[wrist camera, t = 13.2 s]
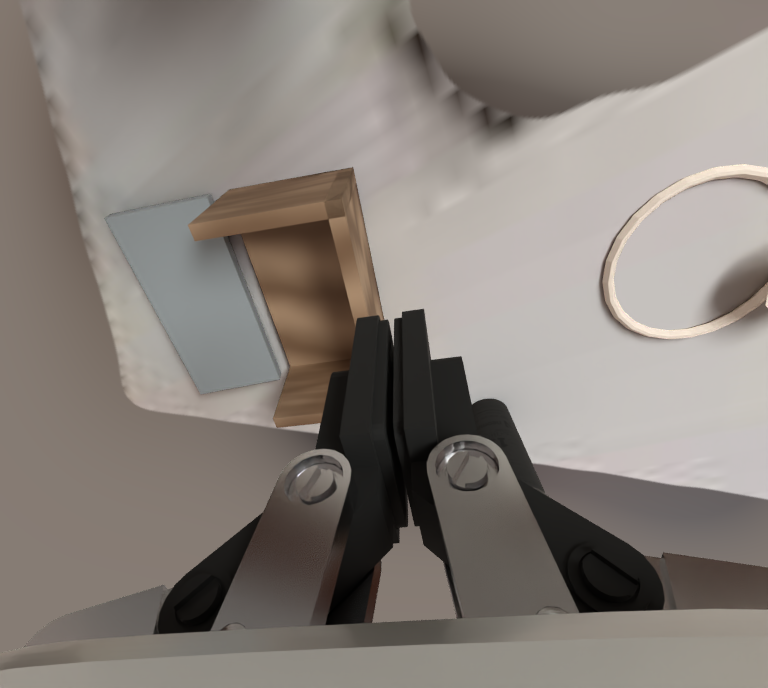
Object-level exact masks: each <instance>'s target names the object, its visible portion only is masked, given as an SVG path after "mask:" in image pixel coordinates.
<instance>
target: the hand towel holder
mask: <svg viewBox="0 0 768 688" xmlns="http://www.w3.org/2000/svg"><path fill="white" fill-rule="evenodd" d="M734 177H740V178H746V179H752V180H759V181H761V182H763V183H765V184H767V185H768V168H765V167H759V166H752V165H746V164H739V165H731V166H722V167H714V168H711V169H708V170H705V171H703V172H700V173H697V174H694V175H691V176H688V177H686V178H683V179H682V180H680V181H678V182H677V183H675V184H673V185H672V186H670V187H668V188H667V189H665V190H663V191H662V192H660V193H658V194H657V195H655V196H654V197H653V198H652V199H651V200H650V201H649V202H647V203H646V204H645V205H644V206H643V207H642V208H641V209H640V210H638V211H637V212H636V213H635V214H634V215H633V216H632V218H631V219H630V220H629V221H628V223H627V224H626V225H625V227H624V228H623V229H622V231H621V232H620V233H619V235H618V236H617V238H616V240H615V242H614V244H613V246H612V249H611V251H610V253H609V255H608V257H607V259H606V264H605V270H604V276H603V281H602V283H603V290H604V297H605V302H606V304H607V305H608V307H609V309H610V311H611V313H612V315H613V317H614V318H616V319H617V320H618V321H619V322H620V323H621V324H622V325H624V326H625V327H626V328H627V329H629V330H632V331H634V332H636V333H639V334H641V335H643V336H649V337H656V338H663V339H677V338H689V337H694V336H698V335H702V334H705V333H709V332H713V331H716V330H718V329H720V328H722V327H724V326H726V325H729V324H731V323H733V322H735V321H737V320H739V319H740V318H742V317H743V316H745V315H746V314H748V313H749V312H751V311H752V310H754V309H755V308H757V307H758V306H760V305H761V304H762V303H763V302H764V301H765V300H766V299H767V300H766V305H765V306H766V307H767V308H768V282H767V283H766V284H765V285H764V286H763V287H762V288H761V289H760V290H759V291H758V292H757V293H756V294H755V295H754V296H753V297H752V298H750V299H749V300H748V301H746V302H745V303H743V304H742V305H740V306H739V307H737V308H736V309H734V310H733V311H732V312H730V313H728V314H726V315H724V316H722V317H720V318H717V319H715V320H713V321H711V322H709V323H706V324H702V325H699V326H695V327H692V328H688V329H680V330H662V329H655V328H650V327H647V326H645V325H643V324H640V323H638V322H636V321H634V320H633V319H632V318H631V317H630V316H629V315H627V314H626V313H625V312H624V311H623V310H622V308H621V306H620V304H619V302H618V300H617V298H616V294H615V286H614V275H615V270H616V265H617V260H618V258H619V256H620V254H621V252H622V249H623V247H624V245H625V243H626V241H627V239H628V238H629V237H630V236H631V234H632V233H633V232H634V230H635V229H636V228H637V227H638V225H639V224H640V223H641V221H642V220H643V219H645V218H646V217H647V216H648V215H649V214H650V213H651V212H653V211H654V210H655V209H656V208H657V207H658V206H660V205H661V204H662V203H663V202H665V201H667V200H668V199H670V198H672V197H674V196H675V195H677V194H679V193H680V192H682V191H684V190H685V189H688V188H691V187H694V186H696V185H699V184H702V183H705V182H708V181H711V180H717V179H725V178H734Z"/></svg>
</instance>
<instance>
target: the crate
mask: <svg viewBox="0 0 768 688" xmlns="http://www.w3.org/2000/svg"><path fill="white" fill-rule="evenodd" d="M188 227H189V229H190V232H191V234H192V236H193V238H194V241H200V240H206V239H212V238H218V237H224V236H230V235H236V234H241V236H242V238H243V241H244V244H245V246H246V249H247V252H248V254H249V257H250V260H251V262H252V265H253V268H254V270H255V273H256V276H257V278H258V281H259V284H260V287H261V289H262V292H263V295H264V297H265V300H266V303H267V305H268V308H269V311H270V313H271V316H272V319H273V321H274V324H275V327H276V329H277V332H278V335H279V337H280V340H281V343H282V345H283V348H284V351H285V353H286V356H287V359H288V361H289V364H290V369H289V372H288V375H287V378H286V381H285V384H284V387H283V390H282V393H281V396H280V399H279V402H278V405H277V408H276V411H275V414H274V417H273V420H274V422H275V424H276V427H277V428H278V427H288V426H297V425H306V424H315V423H321V420H322V415H323V410H324V405H325V400H326V395H327V391H328V386H329V381H330V377H331V374H332V373H333V372H338V371H346V370H349V368H350V361H351V355H352V348H353V341H354V335H355V328H356V321H357V318H361V317H369V316H376V315H379V316H380V319H381V320H384V317H383V312H382V307H381V302H380V297H379V292H378V287H377V282H376V277H375V273H374V268H373V263H372V258H371V253H370V248H369V243H368V238H367V233H366V228H365V223H364V218H363V214H362V209H361V204H360V199H359V194H358V189H357V184H356V179H355V174H354V169H353V167H352V168H347V169H341V170H336V171H330V172H324V173H319V174H313V175H308V176H302V177H297V178H291V179H285V180H280V181H274V182H269V183H263V184H258V185H252V186H247V187H241V188H235V189H230V190H228V191H227V192H226V193H225V194H224V195H222V196H221V197H220V198H219V199H218V200H216V201H215V202H214V203H213V204H212V205H211V206H209V207H208V208H207V209H206V210H205V211H204V212H202V213H201V214H200V215H199V216H198V217H197V218H195V219H194V220H193V221H192V222H191V223H189V224H188Z"/></svg>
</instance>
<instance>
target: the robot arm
mask: <svg viewBox="0 0 768 688" xmlns="http://www.w3.org/2000/svg"><path fill="white" fill-rule="evenodd" d="M407 494H408V499H409V503H410V507H411V512H412V516H413V520H414V525H415V526H420V530H421V535H422V539H423V544H424V546H426V547H427V548H428V549H429V550H430V551H431V552H433V553H434V554H435V555H436V556H437V557H439V558H440V559H441V560H442V561H443V563H444V568H445V572H446V576H447V581H448V585H449V589H450V593H451V597H452V601H453V605H454V610H455V614H456V618H457V619H442V620H421V621H401V622H382V623H372V621H373V616H374V610H375V604H376V599H377V593H378V588H379V582H380V576H381V564H382V562H381V559H382V558H383V557H384V556H385V555H386V554H387V553H388V552H389V551H390V550H391V549H392V548H393V543H399V528H400V527H407V526H408V504H407V503H408V501H407V500H408V499H407ZM0 688H768V567H762V566H755V565H747V564H741V563H734V562H727V561H720V560H713V559H706V558H699V557H692V556H686V555H679V554H672V553H664V552H663V554H662V557H661V558H658V557H651V556H644V555H643V554H641V553H640V552H639V551H637V550H636V549H634V548H633V547H632V546H630V545H629V544H627V543H626V542H624V541H622V540H620V539H619V538H617V537H615V536H614V535H612V534H610V533H609V532H607V531H605V530H603V529H602V528H600V527H599V526H597V525H595V524H593V523H592V522H590V521H589V520H587V519H585V518H583V517H582V516H580V515H578V514H577V513H575V512H573V511H571V510H570V509H568V508H566V507H565V506H563V505H561V504H560V503H558V502H556V501H555V500H553V499H551V498H549V497H548V496H546V495H544V494H543V493H541V492H539V491H538V490H536V489H534V488H533V487H531V486H529V485H527V484H526V483H524V482H522V481H521V480H519V479H517V478H516V477H515V474H514V472H513V470H512V468H511V466H510V464H509V462H508V459H507V457H506V455H505V454H504V453H503V451H502V450H501V448H500V447H499V446H497V445H496V444H495V443H494V442H492V441H491V440H489V439H486V438H484V437H481V436H478V433H477V429H476V424H475V419H474V414H473V409H472V404H471V399H470V395H469V390H468V385H467V380H466V375H465V370H464V365H463V361H462V357H461V356H460V357H452V358H444V359H436V360H431V356H430V349H429V342H428V335H427V328H426V321H425V314H424V309H420V310H412V311H405V312H402V318H396V319H394V345H393V340H392V335H391V330H390V325H389V321H388V320H381V319H380V316H379V315H376V316H369V317H361V318H357V321H356V328H355V335H354V341H353V348H352V355H351V361H350V368H349V370H346V371H338V372H333V373H332V374H331V377H330V381H329V386H328V391H327V395H326V400H325V405H324V410H323V415H322V420H321V425H320V430H319V435H318V440H317V445H316V449H315V450H312V451H309V452H307V453H303V454H302V455H300V456H298V457H297V458H295V459H293V460H292V461H291V462H290V463H289V464H288V465H287V466H286V467H285V468H284V469H283V471H282V473H281V474H280V476H279V478H278V480H277V482H276V485H275V487H274V489H273V491H272V493H271V496H270V498H269V500H268V502H267V505H266V507H265V509H264V511H263V513H262V514H261V515H259V516H258V517H257V518H255V519H254V520H253V521H252V522H251V523H249V524H248V525H247V526H246V527H244V528H243V529H242V530H240V532H238V533H237V534H236V535H234V536H233V537H232V538H230V539H229V540H228V541H227V542H225V543H224V544H223V545H222V546H221V547H219V548H218V549H217V550H216V551H214V552H213V553H212V554H211V555H209V556H208V557H207V558H206V559H204V560H203V561H202V562H201V563H199V564H198V565H197V566H196V567H194V568H193V569H192V570H191V571H189V572H188V573H187V574H186V575H185V576H184V577H183V578H182V579H181V580H180V581H179V582H178V583H176V584H175V586H174V587H173V588H171V589H167V588H166V587H165V586H164V585H161V586H158V587H155V588H151V589H148V590H145V591H142V592H139V593H135V594H132V595H129V596H126V597H122V598H119V599H116V600H112V601H109V602H106V603H102V604H99V605H96V606H92V607H89V608H86V609H83V610H79V611H76V612H73V613H70V614H66V615H64V616H62V617H60V618H57V619H55V620H53V621H51V622H50V623H48V624H47V625H46V626H45V627H43V628H42V629H41V630H39V631H38V632H37V633H36V634H35V635H34V636H33V637H32V638H31V639H30V641H29V642H28V643H27V644H26V645H25V646H24V647H23V648H20V649H16V650H11V651H7V652H2V653H0Z"/></svg>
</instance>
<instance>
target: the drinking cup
mask: <svg viewBox="0 0 768 688" xmlns="http://www.w3.org/2000/svg"><path fill="white" fill-rule="evenodd" d="M472 409H473V414H474V419H475V424H476V429H477V433H478V436H481V437H484V438H486V439H489V440H491V441H492V442H494V443H495V444H496V445H497V446H499V447H500V448H501V450H502V451H503V453H504V454H505V455H506V457H507V459H508V462H509V464H510V466H511V468H512V470H513V472H514V474H515V477H516V478H517V479H519V480H521V481H522V482H524V483H526V484H527V485H529V486H531V487H533V488H534V489H536V490H538V491H539V492H541V493H543V494H544V495H546V496H548V495H547V494H546V493H545V492H544V489H543V487H542V485H541V482H540V480H539V478H538V476H537V474H536V471H535V470H534V467H533V465H532V462H531V460H530V458H529V456H528V453H527V451H526V449H525V447H524V444H523V442H522V440H521V438H520V436H519V433H518V431H517V429H516V427H515V424H514V422H513V420H512V418H511V415H510V413H509V411H508V409H507V407H506V405H505V404H504V403H503V402H501V401H499V400H496V399H483V400H480V401H478V402H476V403H474V404H473V405H472ZM548 497H549V496H548ZM549 498H550V497H549Z"/></svg>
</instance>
